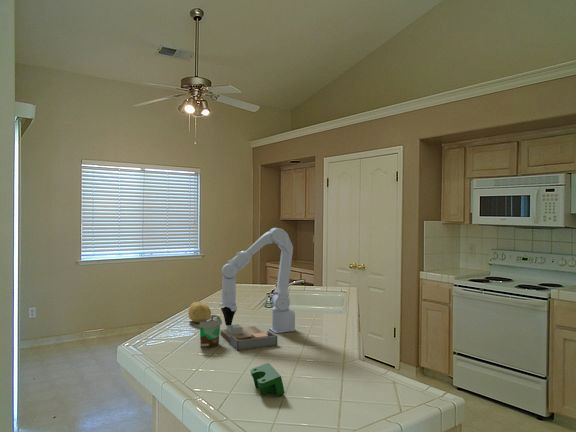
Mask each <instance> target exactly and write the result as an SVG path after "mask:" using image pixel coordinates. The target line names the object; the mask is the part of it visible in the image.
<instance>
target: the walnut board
mask: <svg viewBox="0 0 576 432" xmlns="http://www.w3.org/2000/svg"><path fill="white" fill-rule="evenodd" d="M255 333H265V332H264V331H263V330H261V329H260V328H258V327H256V325H253V326H245V327H243V326H242V333H241V334H233V335H232V336H233V337H235V338H236V339H237V340H246V339H251V334H255ZM265 334H266V335H267V332H266V333H265ZM219 336H221V337H222V338H223V339H224V340H226V341H227V342H228V343H229V344H230V334H229V333H228V332H227V328H226V329H225V328H224V329H220V334H219Z"/></svg>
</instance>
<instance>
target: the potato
mask: <svg viewBox="0 0 576 432" xmlns="http://www.w3.org/2000/svg"><path fill="white" fill-rule="evenodd" d="M211 315H212V311H211V308H210V307H209V306H208V305H207V304H206V303H204V302H202V301H194V302H192V303H191V304H190V305H189V307H188V319H189V320H191V321H193V323H198V324H200V322H204V321H205V320H206V319H209V318H211Z"/></svg>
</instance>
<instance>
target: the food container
mask: <svg viewBox="0 0 576 432" xmlns="http://www.w3.org/2000/svg"><path fill="white" fill-rule="evenodd" d="M198 324H199V326H198V328H199V332H200V333H199V338H200V339H199V340H200V341H199V342H200V349H211V348H215V347H218V346H219V344H220V330H221V325H222V324H223V321H222V318H221V316H219V315H217V314H211V318H209V319H206V320H205V321H204V322H200V323H198Z"/></svg>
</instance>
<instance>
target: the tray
mask: <svg viewBox="0 0 576 432" xmlns="http://www.w3.org/2000/svg"><path fill="white" fill-rule="evenodd" d="M266 334H267V335H268V337H262V338H254V339H246V340H237V339H236V338H235V337H233V336H232V335H230V343H229V345H230V346H232V348H233V349H235V350H236V351H244V350H245V351H246V350H252V349H259V348H265V347H266V348H267V347H275V346H276V347H277V346H278V335H277V334H276V333H274V332H273V331H271V330H267V332H266Z"/></svg>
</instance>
